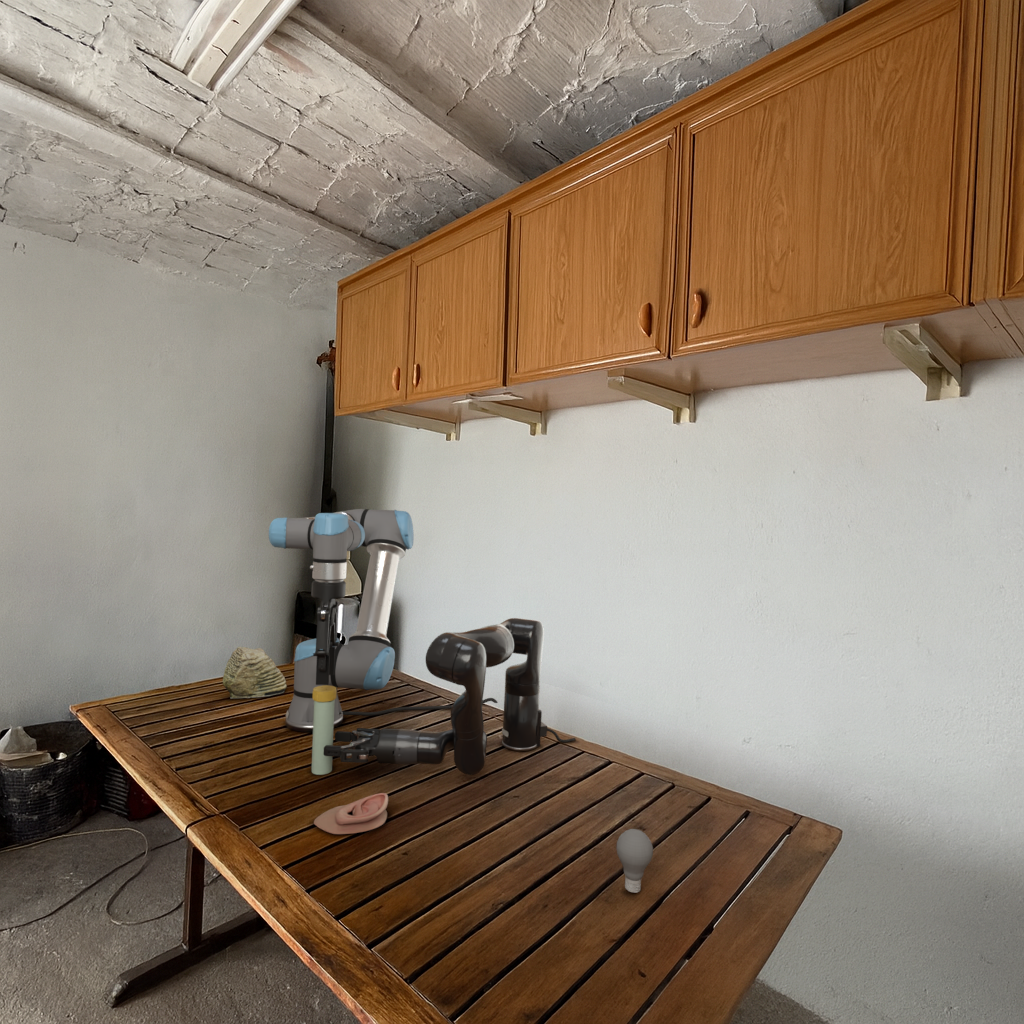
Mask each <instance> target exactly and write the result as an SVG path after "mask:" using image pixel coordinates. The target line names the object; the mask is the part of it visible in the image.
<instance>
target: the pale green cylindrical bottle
mask: <svg viewBox="0 0 1024 1024" xmlns="http://www.w3.org/2000/svg"><path fill="white" fill-rule="evenodd" d="M334 703H335V700H333V701H329V702H317V701H314V717H313V732H312V744H311V745H312V746H311V769H310V770H311V771H310V773H312V774H313V775H317V776H323V775H327V774H329V773H331V772H332V771H333V756H324V747H325V746H326V745H334V729H335V728H334Z"/></svg>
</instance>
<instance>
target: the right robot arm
mask: <svg viewBox="0 0 1024 1024" xmlns="http://www.w3.org/2000/svg"><path fill="white" fill-rule="evenodd" d="M544 640H545V629H544V624H543V622H542V621H541V620H536V619H531V618H530V619H528V618H519V617H510V618H507V619H505V620H503V621H502V622H500V623H497V624H490V625H486V626H482V627H479V628H475V629H471V630H467V631H461V632H460V631H459V632H450V631H447V632H443V633H441V634H439V635H437V636H436V637H435V638H434V639H433V640H432V641H431V643H430V645H429V646H428V648H427V650H426V653H425V665H426V669H427V670H428V672H429V673H430V674H431V675H432V676H434V677H436V678H438V679H440V680H444V681H446V682H450V683H452V684H455V685H457V686H463V687H464V689H465V690H464V691H463V692H462V693H461V694H459V696H458V697H457V698H456V699H455V700H454V702H453V704H452V705H453V706H452V708H451V709H450V723H451V729H447V730H442V731H421V730H420V731H419V730H414V729H403V728H381V729H380V728H367V727H357V728H356V730H351V731H345V730H344V731H343V730H338V731H336V732H335V733H334V741H335V742H341V743H349V744H346V745H334V744H333V745H326V746H325V747H324V756H332V757H337V758H340V762H341V763H358V764H359V763H361V764H362V763H363V764H367V763H368V762H369V757H376V762H377V763H378V764H387V765H389V764H390V765H433V766H434V765H435V766H436V765H441V764H442V763H443V762H444V760H445V757H446V755H447V753H448V752H449V751H450V750H453V762H454V766H455V768H456V769H457V770H458V771H459V772H460V773H461V774H463V775H467V776H474V775H477V774H479V773H480V772H481V771H482V770H483V769H484V767H485V764H486V759H487V746H488V736H487V732H485V724H484V714H483V704H482V701H483V700H484V693H485V683H486V673H487V668H494V667H496V666H499V665H501V664H503V663H505V662H507V661H508V660H509V659H510V658H511V657H512V655H513V654H515V655H522V656H526V660H525V661H524V662H521V663H517V664H513V665H510V666H507V668H505V675H504V697H503V719H502V720H503V721H502V723H503V724H502V728H501V734H502V735H501V736H502V739H501V745H502V747H504V748H506V749H507V750H510V751H515V752H528V751H532V750H535V749H536V748H539V747H541V739H542V738H543V737H547V736H548V732H549V733H551V734H552V735H554V737H555V738H556V740H557V741H558V742H560V743H563V744H564V743H566V744H567V743H572V742H575V741H577V740H576V738H575V737H573V738H568V739H562V738H560V736H559V735H558V733H557V732H556V731H554V730H553V729H551V728H548V725H546V724H545V723H544V722H543V721H542V718H543V717H542V714H543V712H542V710H541V708H540V692H541V691H540V690H541V672H542V662H543V651H544Z"/></svg>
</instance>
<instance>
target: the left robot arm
mask: <svg viewBox="0 0 1024 1024" xmlns="http://www.w3.org/2000/svg"><path fill="white" fill-rule="evenodd" d="M413 525H414V524H413V520H412V516H411V515H410V513H409V512H408V511H406V510H397V509H374V508H373V509H371V508H354V509H348V510H341V511H336V512H319V513H317V514H316V515H315V516H309V517H308V516H307V517H285V516H284V517H275V518H274V519H273V520H272V521H271V522H270V524H269V528H268V540H269V543H270V544H271V546H272V547H274V548H278V549H279V548H280V549H284V550H287V549H290V550H291V549H293V550H312V564H311V565H310V566H309V569H310V570H312V575H311V576H312V579H313V581H312V582H311V593H310V594H311V597H312V598H313V599H319V600H320V604H319V605H318V606H317V611H316V615H317V616H316V617H317V619H316V620H317V621H316V636H315V638H312V639H307V640H304V641H302V642H300V643H298V644H297V645H296V647H295V654H294V659H293V661H294V670H293V671H294V672H293V695H292V696H293V697H292V699H291V702H290V704H289V708H288V709H287V710H286V712H285V726H286V728H287V729H289V730H291V731H294V732H295V731H296V732H301V733H313V717H314V700H313V689H314V688H315V687H317V686H323V685H329V686H334V687H336V690H337V691H338V688H340V689H355V690H356V689H357V690H365V691H370V690H375V691H376V690H377V691H378V690H382V689H384V688H385V687H386V686H387V684H388V683H389V681H390V680H391V679H390V678H391V677H392V674H393V671H394V666H395V658H396V653H395V649H394V648H393V647H392V646H391V641H390V639H389V638H388V637H387V634H388V627H389V622H390V615H391V610H392V604H393V599H394V598H393V597H394V592H395V586H396V580H397V575H398V569H399V564H400V563H399V562H400V560H401V559H402V558H404V557H405V556H406V551H407V550H412V549H413V546H414V539H415V538H414V536H415V535H414V526H413ZM359 547H363V548H364V547H365V548H366V552H367V553H368V554H369V561H368V567H367V572H366V576H365V581H364V587H363V592H362V596H361V597H362V598H361V603H360V609H359V613H358V618H357V624H356V629H355V632H354V633H353V634H351V635H350V636H349V637H348V641H347V644H341V641H340V639H339V638H338V636H337V635H338V633H337V631H338V609H339V602H338V601H337V600H339V599H343V598H345V597H346V590H347V587H346V586H347V583H346V581H345V580H346V579H347V567H348V561H347V559H348V552H352V551H355V550H356V549H358V548H359ZM488 702H493V703H494V704H498V700H496V698H493V697H488V698H484V699H483V701H482V705H483V704H486V703H488ZM452 706H453V704H452V705H451V704H450V705H430V706H429V705H427V706H402V707H392V708H388V709H383V710H379V711H371V712H370V711H343V709H342V706H341V702H340V699H339V695H338V693H337V694H336V699H335V703H334V729H335V728H337V727H339V726H340V725H342V723H343V722H344V716H364V717H372V716H374V717H375V716H380V715H386V714H389V713H394V712H403V711H429V710H431V711H432V710H451V708H452Z"/></svg>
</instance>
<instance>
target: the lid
mask: <svg viewBox="0 0 1024 1024" xmlns="http://www.w3.org/2000/svg"><path fill="white" fill-rule="evenodd" d="M336 694H337V695H338V689H337V690H336V687H334V686H329V685H323V686H317V687H315V688H314V689H313V700H314V701H317V702H329V701H333V700H335V699H336Z"/></svg>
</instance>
